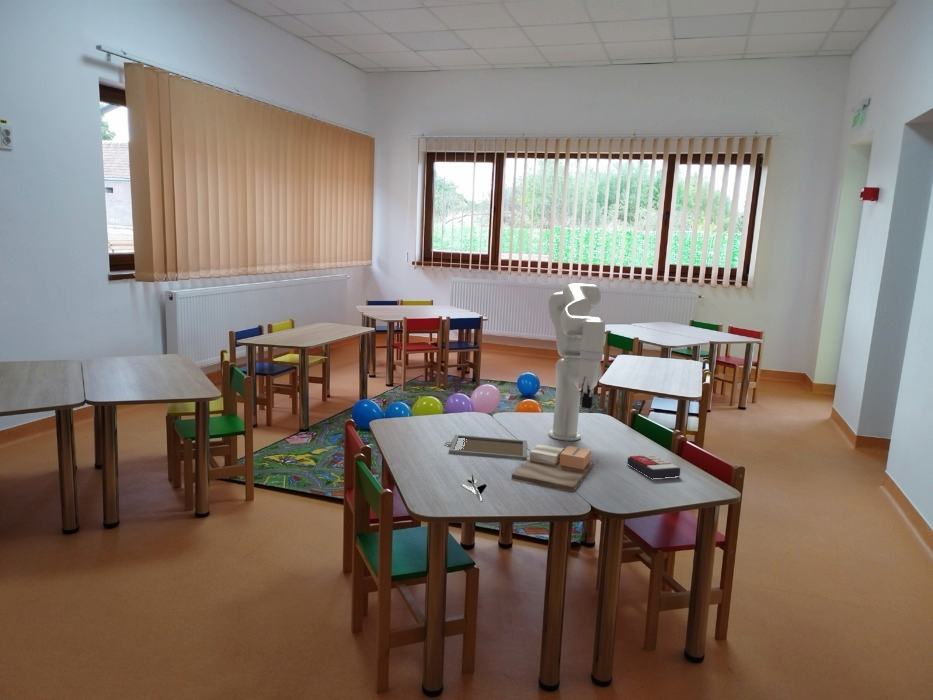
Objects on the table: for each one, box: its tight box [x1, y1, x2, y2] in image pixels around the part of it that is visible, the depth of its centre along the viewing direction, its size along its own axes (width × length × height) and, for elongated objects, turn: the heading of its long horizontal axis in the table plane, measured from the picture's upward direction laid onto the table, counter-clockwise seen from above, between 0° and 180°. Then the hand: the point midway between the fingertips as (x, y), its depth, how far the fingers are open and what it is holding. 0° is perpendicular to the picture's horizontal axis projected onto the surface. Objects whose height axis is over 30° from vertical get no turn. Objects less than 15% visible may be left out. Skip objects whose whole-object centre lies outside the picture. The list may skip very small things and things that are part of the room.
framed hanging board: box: [444, 434, 528, 461], centre depth 229 cm, size 19×2×30 cm
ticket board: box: [511, 443, 595, 492], centre depth 208 cm, size 28×20×4 cm
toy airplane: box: [461, 474, 488, 502], centre depth 191 cm, size 8×21×2 cm, turn 10°
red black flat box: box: [627, 454, 681, 479], centre depth 214 cm, size 11×4×15 cm
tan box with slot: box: [560, 445, 592, 470], centre depth 212 cm, size 10×8×4 cm
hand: (586, 407), depth 219 cm, fingers closed
